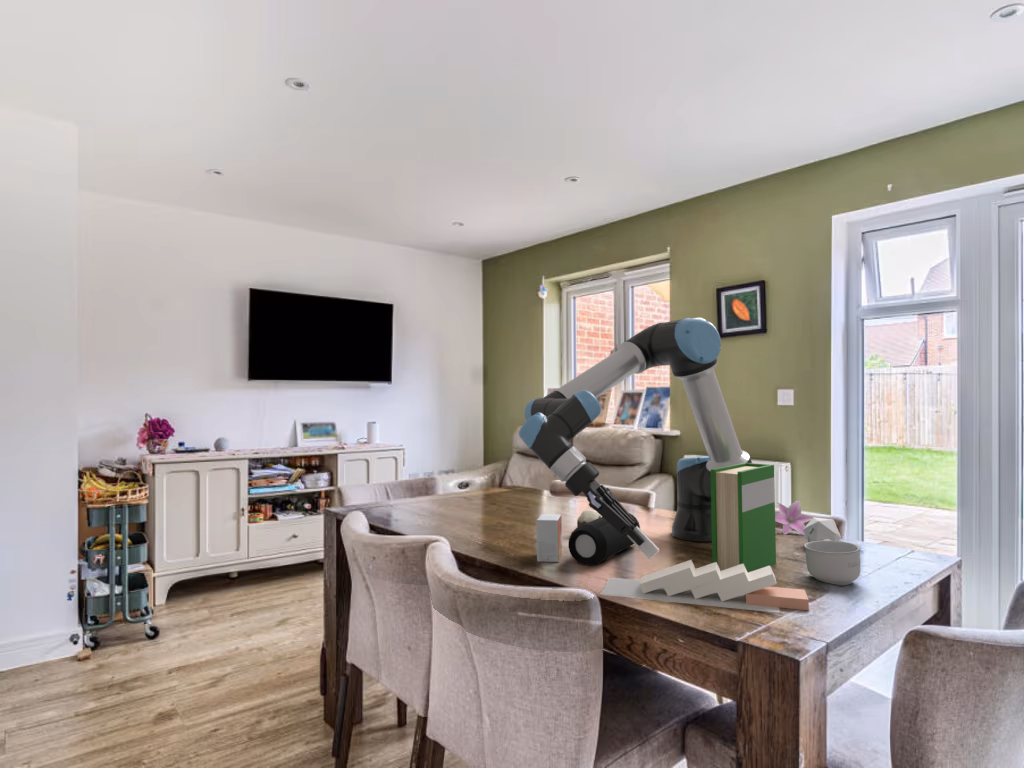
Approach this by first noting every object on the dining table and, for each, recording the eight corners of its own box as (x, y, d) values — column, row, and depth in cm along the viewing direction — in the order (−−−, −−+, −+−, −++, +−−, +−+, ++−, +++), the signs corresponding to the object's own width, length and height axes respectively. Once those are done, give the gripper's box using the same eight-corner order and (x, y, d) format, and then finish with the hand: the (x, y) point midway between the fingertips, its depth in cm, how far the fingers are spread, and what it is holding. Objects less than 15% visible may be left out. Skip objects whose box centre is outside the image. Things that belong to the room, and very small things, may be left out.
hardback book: (743, 580, 132) (741, 472, 133) (712, 573, 138) (710, 469, 138) (776, 563, 145) (774, 464, 145) (746, 557, 150) (744, 462, 150)
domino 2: (663, 586, 121) (716, 569, 118) (666, 578, 127) (716, 561, 123) (668, 596, 121) (720, 579, 117) (670, 587, 126) (720, 571, 123)
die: (801, 545, 164) (793, 521, 160) (827, 529, 165) (820, 504, 160) (823, 563, 156) (816, 538, 152) (850, 546, 157) (844, 521, 153)
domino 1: (639, 584, 123) (689, 567, 119) (642, 575, 128) (691, 559, 125) (643, 593, 122) (694, 577, 119) (646, 584, 128) (695, 568, 125)
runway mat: (600, 596, 122) (599, 594, 122) (610, 579, 134) (610, 577, 134) (780, 615, 111) (780, 612, 111) (775, 594, 122) (775, 592, 122)
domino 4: (717, 591, 118) (772, 573, 114) (717, 582, 123) (769, 565, 120) (721, 601, 117) (776, 583, 114) (721, 591, 123) (774, 574, 120)
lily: (763, 535, 178) (769, 512, 173) (772, 515, 185) (779, 493, 181) (802, 550, 172) (809, 527, 168) (810, 530, 180) (818, 507, 176)
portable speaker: (610, 543, 167) (609, 507, 167) (643, 547, 162) (643, 510, 162) (565, 565, 146) (564, 524, 146) (602, 571, 141) (601, 529, 141)
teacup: (860, 592, 123) (859, 553, 123) (802, 584, 129) (801, 547, 129) (862, 574, 135) (861, 539, 135) (809, 568, 141) (808, 534, 141)
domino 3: (690, 589, 119) (744, 571, 116) (692, 580, 125) (743, 563, 122) (695, 599, 119) (748, 581, 116) (696, 589, 125) (747, 572, 121)
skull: (578, 525, 186) (599, 502, 182) (601, 550, 181) (622, 528, 178) (560, 531, 175) (581, 507, 172) (584, 559, 171) (606, 535, 168)
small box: (558, 562, 148) (558, 520, 148) (536, 562, 149) (535, 519, 149) (562, 554, 155) (561, 514, 156) (541, 553, 157) (540, 513, 157)
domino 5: (746, 593, 116) (808, 599, 112) (745, 584, 121) (804, 589, 118) (746, 604, 116) (808, 610, 112) (745, 594, 121) (804, 599, 118)
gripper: (571, 479, 138) (645, 557, 132) (556, 488, 125) (637, 574, 119) (593, 457, 136) (670, 535, 130) (580, 463, 124) (664, 550, 118)
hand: (654, 554), depth 125 cm, fingers closed
